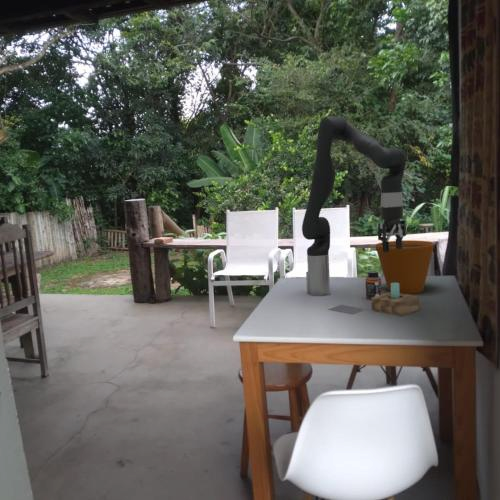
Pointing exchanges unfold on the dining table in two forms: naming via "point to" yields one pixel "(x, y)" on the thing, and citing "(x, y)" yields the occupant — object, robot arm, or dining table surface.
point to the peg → (395, 290)
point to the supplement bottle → (373, 285)
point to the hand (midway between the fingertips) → (392, 250)
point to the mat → (347, 309)
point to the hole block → (395, 304)
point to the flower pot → (406, 264)
